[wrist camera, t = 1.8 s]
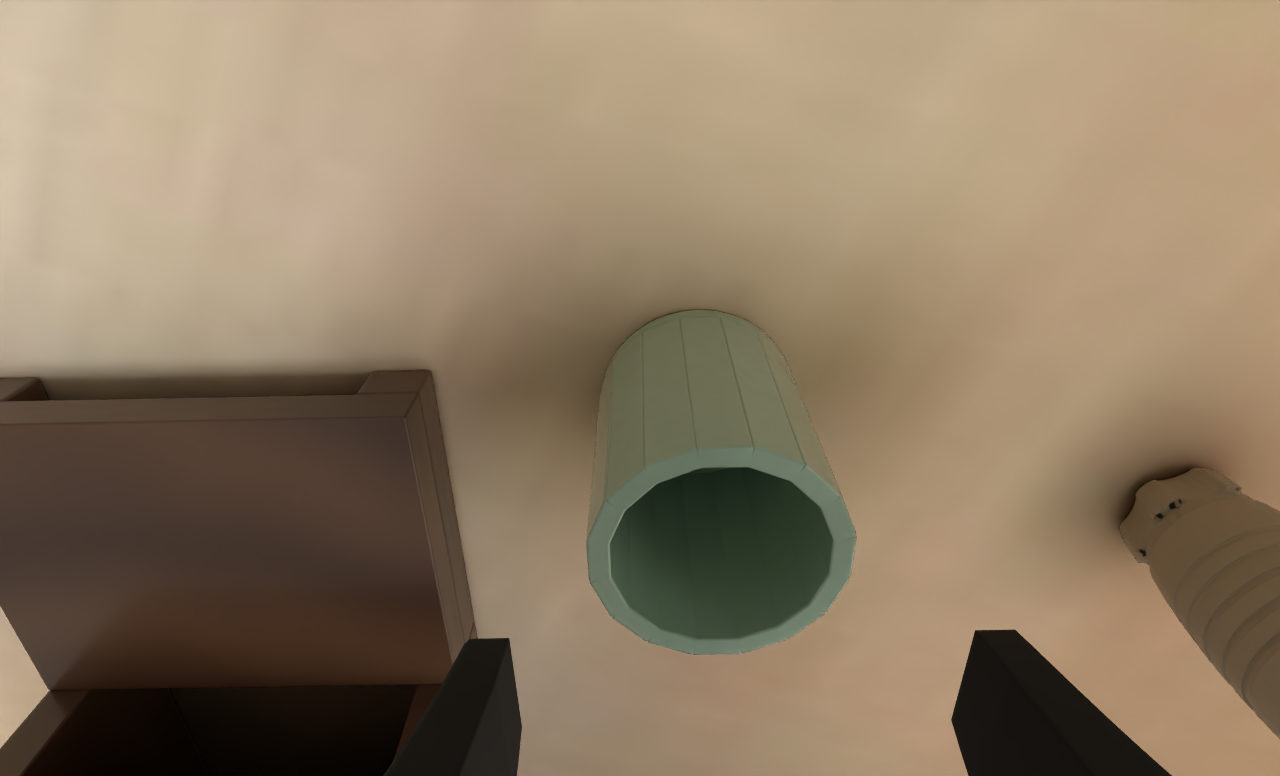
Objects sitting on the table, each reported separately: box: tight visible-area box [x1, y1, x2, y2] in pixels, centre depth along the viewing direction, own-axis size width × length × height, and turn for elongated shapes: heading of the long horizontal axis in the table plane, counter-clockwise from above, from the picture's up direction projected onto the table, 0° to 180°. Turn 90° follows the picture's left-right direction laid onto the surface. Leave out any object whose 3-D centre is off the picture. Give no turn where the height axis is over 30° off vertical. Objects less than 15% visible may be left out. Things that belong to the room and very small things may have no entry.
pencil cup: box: [586, 310, 857, 655], centre depth 17 cm, size 5×5×6 cm
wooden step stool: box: [0, 371, 477, 776], centre depth 21 cm, size 18×12×7 cm, turn 1°
